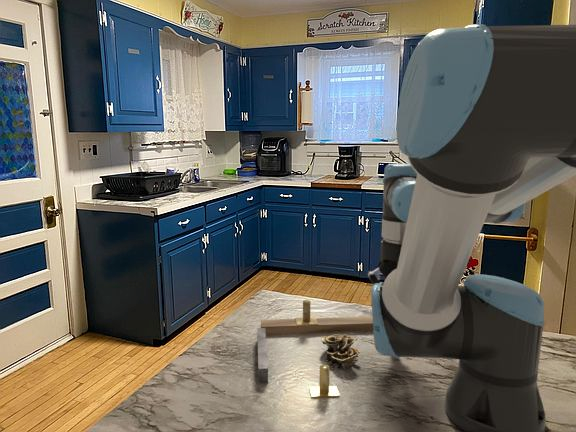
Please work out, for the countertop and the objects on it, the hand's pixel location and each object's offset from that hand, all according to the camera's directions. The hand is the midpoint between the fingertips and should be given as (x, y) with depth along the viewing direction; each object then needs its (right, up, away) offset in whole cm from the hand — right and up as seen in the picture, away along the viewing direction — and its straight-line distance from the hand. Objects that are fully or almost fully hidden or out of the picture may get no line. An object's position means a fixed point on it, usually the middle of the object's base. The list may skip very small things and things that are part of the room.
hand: (394, 346), depth 95 cm
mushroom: (-11, -2, -1) cm, 12 cm away
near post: (-16, -4, -14) cm, 22 cm away
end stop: (-28, -2, -2) cm, 28 cm away
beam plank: (-14, +1, +13) cm, 19 cm away
